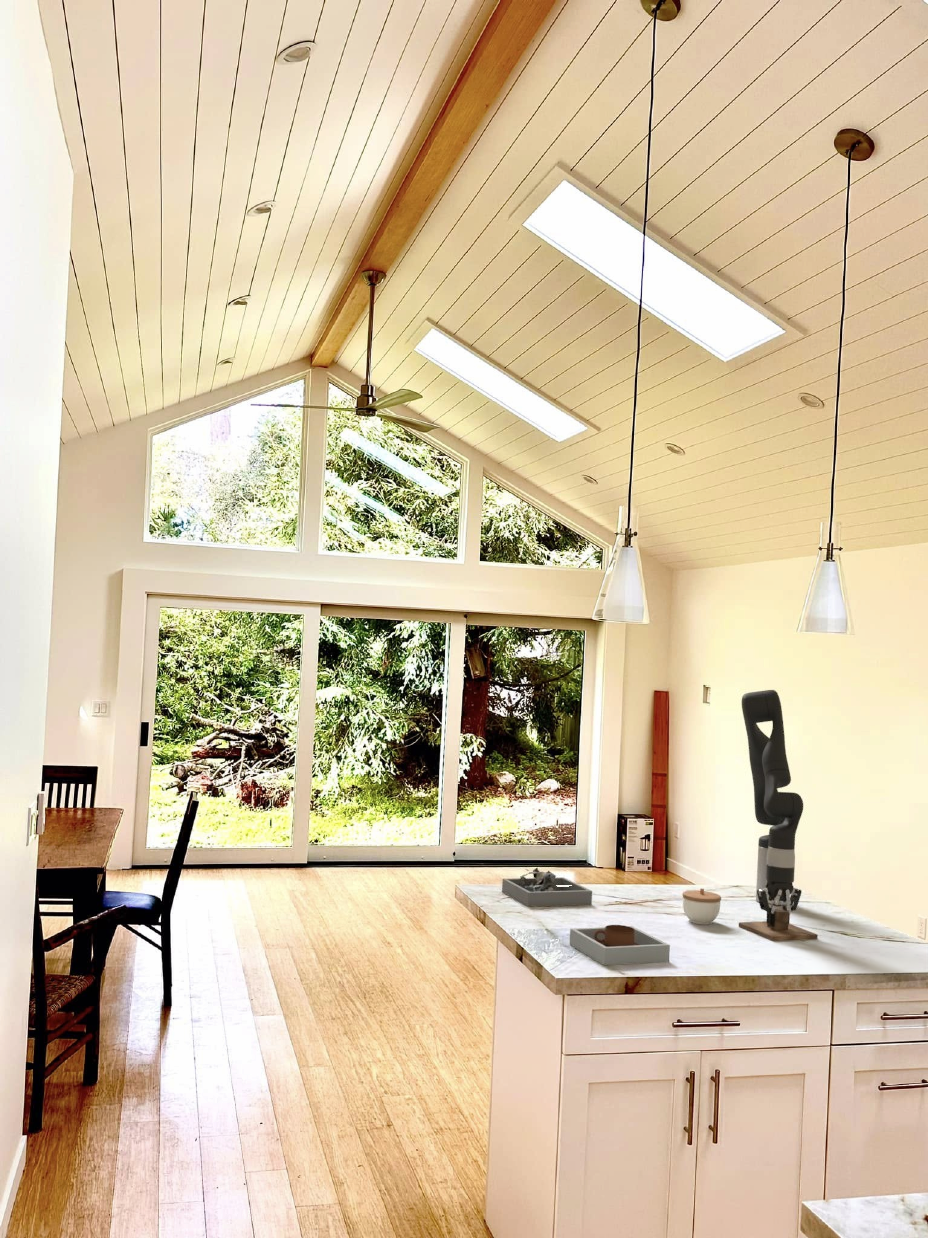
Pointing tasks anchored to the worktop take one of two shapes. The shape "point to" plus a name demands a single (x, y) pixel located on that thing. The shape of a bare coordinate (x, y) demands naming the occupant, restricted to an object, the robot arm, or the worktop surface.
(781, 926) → the walnut lid
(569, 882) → the foil frame
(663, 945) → the grey square tray
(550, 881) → the foil
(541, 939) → the worktop surface
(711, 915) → the lidded jar
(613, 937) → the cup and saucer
